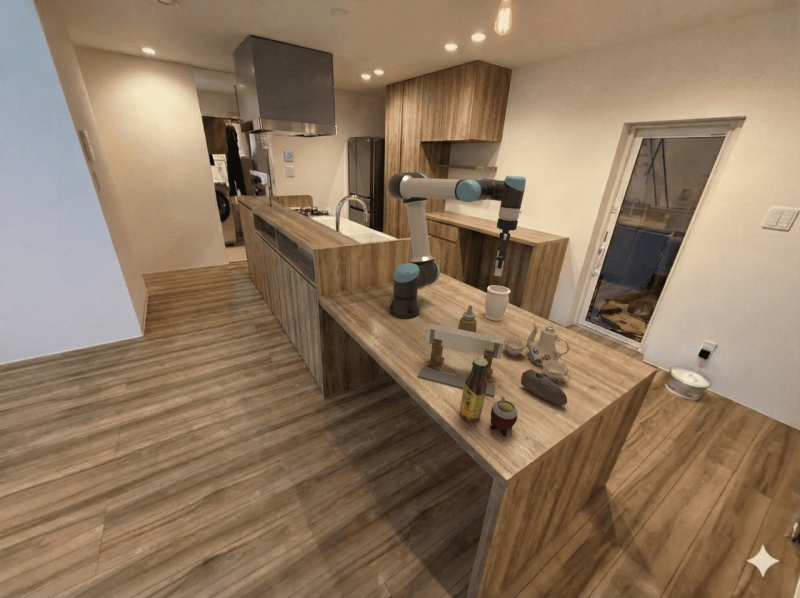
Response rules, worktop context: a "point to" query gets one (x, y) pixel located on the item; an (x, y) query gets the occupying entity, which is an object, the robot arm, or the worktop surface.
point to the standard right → (488, 370)
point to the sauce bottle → (474, 390)
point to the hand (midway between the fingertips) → (498, 270)
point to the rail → (465, 340)
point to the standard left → (436, 356)
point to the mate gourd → (503, 416)
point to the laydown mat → (449, 379)
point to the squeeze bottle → (468, 321)
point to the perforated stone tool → (543, 387)
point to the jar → (496, 302)
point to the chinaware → (542, 351)
